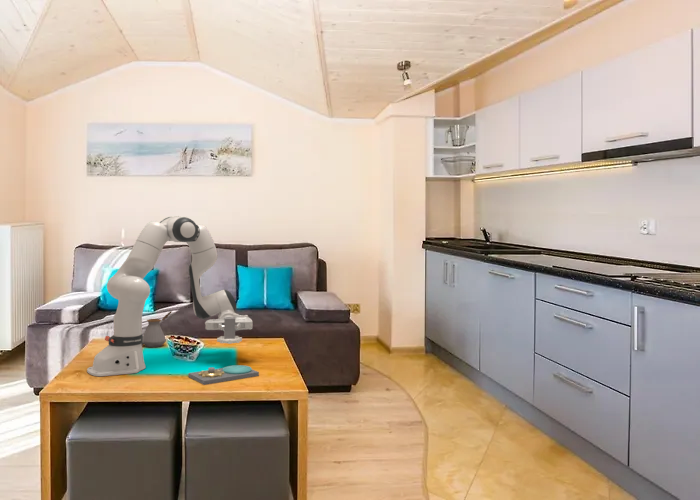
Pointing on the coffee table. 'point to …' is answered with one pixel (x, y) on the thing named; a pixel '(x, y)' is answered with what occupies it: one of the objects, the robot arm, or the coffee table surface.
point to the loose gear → (229, 332)
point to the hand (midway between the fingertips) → (229, 327)
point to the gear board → (223, 374)
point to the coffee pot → (154, 333)
